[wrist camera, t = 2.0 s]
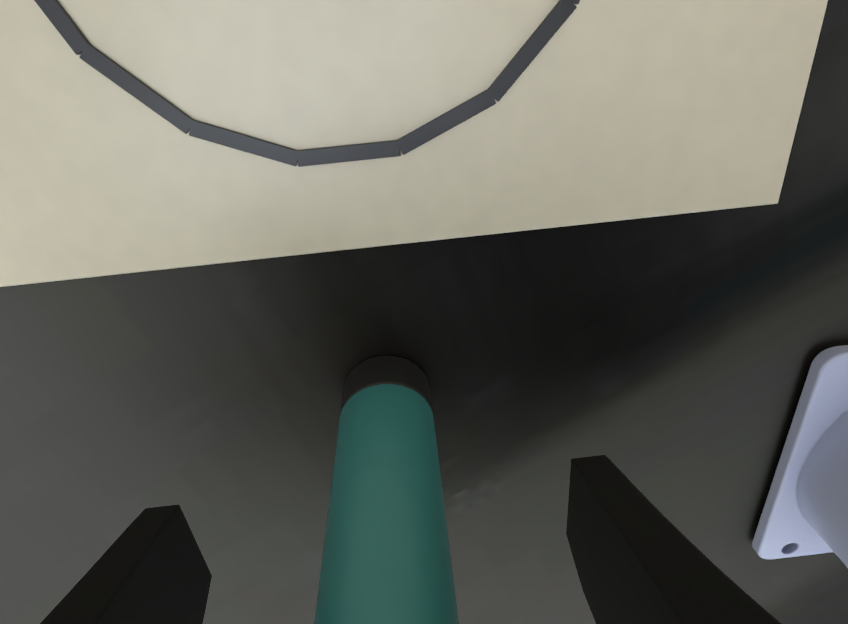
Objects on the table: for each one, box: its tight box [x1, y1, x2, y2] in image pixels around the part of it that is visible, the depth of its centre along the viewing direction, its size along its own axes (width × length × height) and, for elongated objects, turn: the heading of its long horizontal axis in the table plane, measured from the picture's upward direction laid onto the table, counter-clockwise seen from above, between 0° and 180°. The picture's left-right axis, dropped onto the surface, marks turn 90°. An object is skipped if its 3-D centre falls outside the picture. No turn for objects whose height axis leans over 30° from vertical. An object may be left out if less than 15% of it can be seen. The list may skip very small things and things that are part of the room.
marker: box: [314, 355, 459, 624], centre depth 9 cm, size 2×2×10 cm
